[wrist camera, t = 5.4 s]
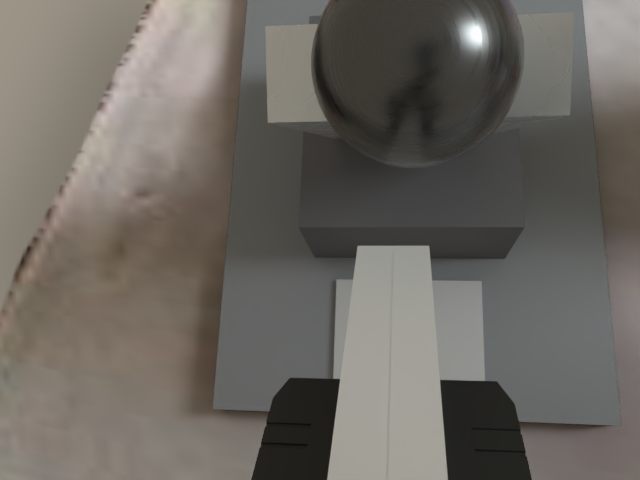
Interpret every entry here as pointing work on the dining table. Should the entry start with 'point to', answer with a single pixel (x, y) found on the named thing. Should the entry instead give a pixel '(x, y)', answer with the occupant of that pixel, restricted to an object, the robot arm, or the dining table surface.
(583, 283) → the switch board
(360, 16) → the toggle lever
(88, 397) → the dining table surface
